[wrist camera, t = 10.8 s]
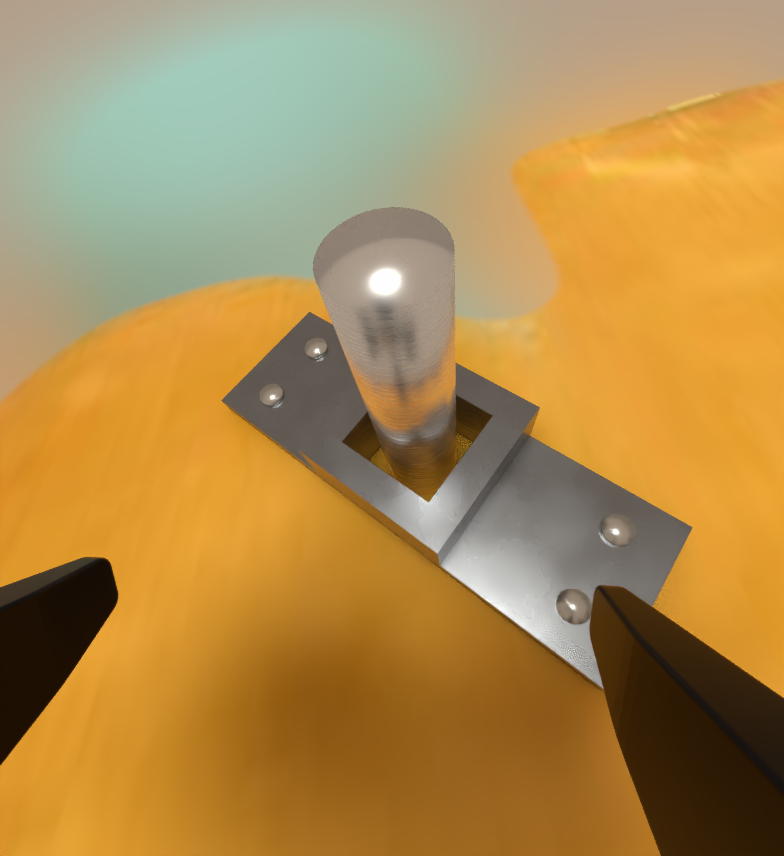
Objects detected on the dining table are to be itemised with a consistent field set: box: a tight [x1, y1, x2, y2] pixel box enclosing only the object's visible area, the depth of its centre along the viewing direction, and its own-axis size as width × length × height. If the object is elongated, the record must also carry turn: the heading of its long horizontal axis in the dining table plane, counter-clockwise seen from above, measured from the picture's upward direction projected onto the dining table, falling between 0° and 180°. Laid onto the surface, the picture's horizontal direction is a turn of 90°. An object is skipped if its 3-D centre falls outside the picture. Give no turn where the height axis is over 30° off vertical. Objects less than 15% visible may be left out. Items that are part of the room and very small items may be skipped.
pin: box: [313, 207, 456, 494], centre depth 17 cm, size 4×4×14 cm
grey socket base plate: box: [222, 312, 692, 691], centre depth 21 cm, size 24×8×4 cm, turn 53°
